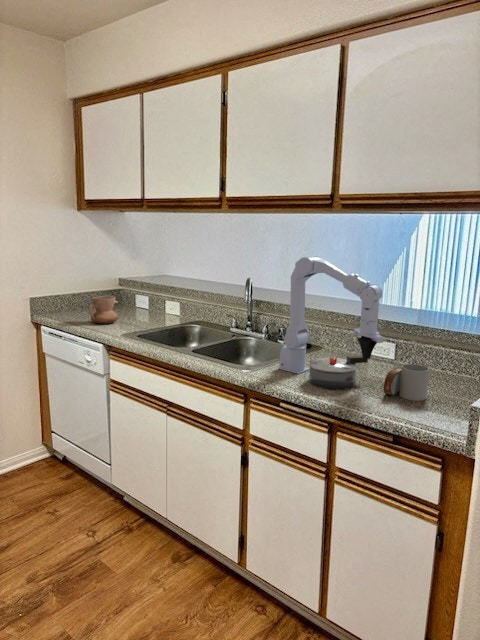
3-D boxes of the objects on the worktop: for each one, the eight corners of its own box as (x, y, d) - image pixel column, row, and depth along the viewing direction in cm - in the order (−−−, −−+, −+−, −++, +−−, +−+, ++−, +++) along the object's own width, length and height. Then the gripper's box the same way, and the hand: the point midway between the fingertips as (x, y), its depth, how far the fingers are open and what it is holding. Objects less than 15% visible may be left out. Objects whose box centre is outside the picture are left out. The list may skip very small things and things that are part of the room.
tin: (399, 386, 173) (401, 363, 171) (407, 388, 171) (410, 364, 169) (381, 396, 161) (383, 372, 160) (390, 399, 159) (393, 374, 158)
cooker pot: (300, 382, 173) (301, 366, 172) (329, 370, 189) (330, 355, 188) (341, 393, 163) (342, 376, 162) (368, 379, 179) (369, 363, 178)
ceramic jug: (110, 318, 278) (109, 294, 275) (125, 322, 268) (124, 296, 266) (82, 323, 265) (80, 297, 262) (97, 327, 255) (95, 300, 252)
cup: (429, 396, 163) (433, 367, 161) (420, 402, 157) (423, 372, 155) (405, 390, 168) (408, 362, 166) (395, 396, 162) (397, 367, 160)
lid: (321, 374, 163) (322, 365, 163) (302, 361, 179) (302, 353, 178) (377, 370, 169) (378, 362, 168) (354, 358, 184) (354, 350, 184)
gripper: (392, 323, 162) (388, 362, 165) (366, 315, 176) (363, 352, 178) (374, 324, 160) (371, 364, 163) (349, 316, 173) (347, 353, 176)
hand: (366, 358), depth 170 cm, fingers closed
